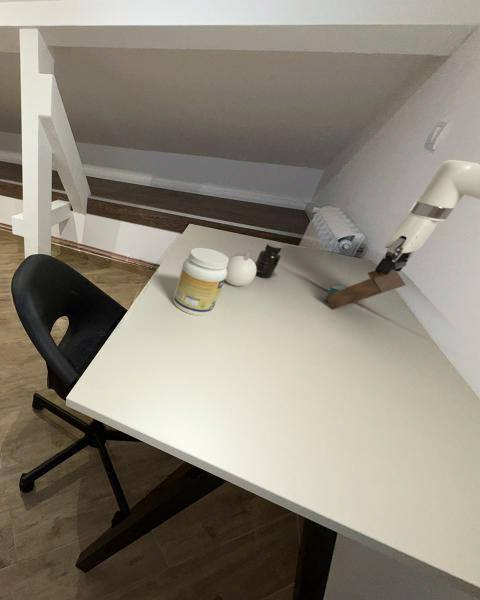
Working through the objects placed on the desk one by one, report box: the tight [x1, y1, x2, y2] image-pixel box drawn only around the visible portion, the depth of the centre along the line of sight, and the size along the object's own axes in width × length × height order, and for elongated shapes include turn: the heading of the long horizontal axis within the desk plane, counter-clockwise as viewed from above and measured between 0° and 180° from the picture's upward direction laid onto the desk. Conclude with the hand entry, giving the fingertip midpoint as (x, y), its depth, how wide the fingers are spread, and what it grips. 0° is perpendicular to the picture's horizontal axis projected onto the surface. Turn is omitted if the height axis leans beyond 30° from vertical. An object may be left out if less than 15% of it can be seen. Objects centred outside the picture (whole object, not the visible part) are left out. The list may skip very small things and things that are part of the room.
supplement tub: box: [172, 247, 230, 316], centre depth 91 cm, size 12×12×17 cm
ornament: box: [225, 252, 257, 287], centre depth 106 cm, size 10×10×12 cm
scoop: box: [324, 261, 407, 310], centre depth 97 cm, size 18×14×7 cm
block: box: [327, 284, 346, 295], centre depth 104 cm, size 4×4×4 cm
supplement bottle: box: [254, 242, 283, 279], centre depth 115 cm, size 7×7×12 cm
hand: (387, 270), depth 92 cm, fingers closed on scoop, 6 cm apart
